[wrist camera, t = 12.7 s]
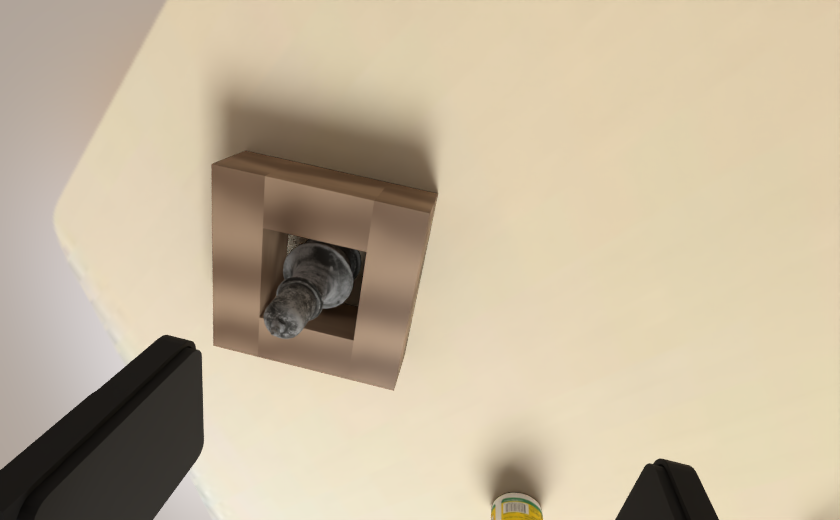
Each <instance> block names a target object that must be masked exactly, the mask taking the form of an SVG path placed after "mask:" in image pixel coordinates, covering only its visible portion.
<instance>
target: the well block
mask: <svg viewBox="0 0 840 520" xmlns="http://www.w3.org/2000/svg"><path fill="white" fill-rule="evenodd" d="M437 197H438V194H437V193H433V192H428V191H424V190H419V189H415V188H410V187H406V186H401V185H397V184H392V183H388V182H383V181H379V180H375V179H370V178H366V177H361V176H357V175H352V174H348V173H343V172H339V171H334V170H330V169H325V168H321V167H316V166H312V165H307V164H303V163H298V162H294V161H289V160H285V159H280V158H276V157H271V156H267V155H262V154H258V153H253V152H249V151H244V152H241V153H239V154H236V155H234V156H231V157H228V158H226V159H223V160H221V161H218V162H216V163H213V164H212V254H213V345H214V346H217V347H221V348H225V349H229V350H233V351H237V352H241V353H245V354H249V355H253V356H257V357H261V358H265V359H269V360H273V361H277V362H281V363H285V364H289V365H293V366H297V367H301V368H305V369H309V370H313V371H317V372H321V373H325V374H329V375H333V376H337V377H341V378H345V379H349V380H353V381H357V382H361V383H365V384H369V385H373V386H377V387H381V388H385V389H389V390H393V391H394V388H395V385H396V382H397V379H398V375H399V372H400V369H401V365H402V362H403V359H404V355H405V351H406V346H407V341H408V336H409V331H410V326H411V322H412V317H413V312H414V307H415V302H416V298H417V293H418V288H419V283H420V278H421V274H422V269H423V264H424V259H425V254H426V250H427V245H428V240H429V235H430V230H431V225H432V221H433V216H434V211H435V206H436V201H437ZM288 234H291V235H296V236H300V237H304V238H308V239H313V240H317V241H321V242H326V243H330V244H334V245H339V246H343V247H347V248H351V249H356V250H360V251H364V252H367V253H366V260H365V267H364V273H363V280H362V287H361V294H360V301H359V307H356V306H351V305H347V304H343V303H342V304H340V305H338V306H336V307H332V308H328V309H322V311H321V313H320V314H319V315H318V317H317V318H315V319H313V320H310V321H308V323H307V324H306V326H305V327H304V328H303V330H302V331H301V332H300V333H299V334H298V335H297V336H295V337H293V338H290V339H282V338H278V337H276V336H274V335H271V333H270V332H269V331H268V329H267V328H266V326H265V323H264V319H263V317H264V312H265V310H266V307H267V306H268V305H269V304H270V303H271V302H272V301H273V299H274V298H275V297H276V293H277V289H278V286H279V285H280V284H281V283H282V281H284V276H283V264H284V261H285V259H286V257H287V244H288Z"/></svg>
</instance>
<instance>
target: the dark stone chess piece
mask: <svg viewBox="0 0 840 520" xmlns="http://www.w3.org/2000/svg"><path fill="white" fill-rule="evenodd" d="M360 268H361V256H360V253H359V251H358V250H356V249H351V248H347V247H343V246H339V245H334V244H330V243H326V242H321V241H317V240H313V239H308V240H307V241H306V243H305V244H301V245H299V246H297V247H296V248H294V249H292V250H291V252H290V253H289V254H288V255H287V257H286V259H285V261H284V264H283V276H284V281H282V283H281V284H280V285H279V286H278V289H277V293H276V297H275V298H274V299H273V301H272V302H271V303H270V304H269V305H268V306H267V307H266V310H265V312H264V317H263V319H264V323H265V326H266V328H267V329H268V331H269V332H270V333H271V335H274V336H276V337H278V338H282V339H290V338H293V337H295V336H297V335H298V334H299V333H300V332H301V331H302V330H303V328H304V327H305V326H306V324H307V323H308V321H310V320H313V319H315V318H317V317H318V315H319V314H320V313H321V311H322V309H328V308H332V307H336V306H338V305H340V304H342V303H343V302H344V301H345V300H346V299H347V298H348V297H349V295H350V293H351V291H352V289H353V282H354V279H355V278H356V277H357V275H358V273H359V271H360Z"/></svg>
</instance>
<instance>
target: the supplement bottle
mask: <svg viewBox="0 0 840 520" xmlns="http://www.w3.org/2000/svg"><path fill="white" fill-rule="evenodd" d="M491 520H543V516H542V509H541V507H540V505H539V504H538V503H537V501H535V500H534V499H533V498H531V497H530V496H528V495H525V494H522V493H507V494H504V495H501V496H500V497H498V498H497V499H496V500H495V501H494V502H493V505H492V509H491Z"/></svg>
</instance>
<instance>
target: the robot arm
mask: <svg viewBox="0 0 840 520" xmlns="http://www.w3.org/2000/svg"><path fill="white" fill-rule="evenodd" d="M203 444H204V429H203V388H202V355H201V352H200V351H199V350H196V347H195V344H194V342H192V341H189V340H185V339H181V338H177V337H173V336H169V335H164V336H162V337H160V338H159V339H157V340H156V341H155V342H154V343H153V344H151V345H150V346H149V347H148V348H147V349H146V350H144V351H143V352H142V353H141V354H140V355H138V356H137V357H136V358H135V359H134V360H133V361H131V362H130V363H129V364H128V365H127V366H125V367H124V368H123V369H122V370H121V371H120V372H118V373H117V374H116V375H115V376H114V377H112V378H111V379H110V380H109V381H108V382H107V383H105V384H104V385H103V386H102V387H101V388H100V389H98V390H97V391H95V392H94V393H92V394H91V395H89V396H88V397H87V398H86V399H85V400H83V401H82V402H81V403H80V404H79V405H78V406H76V407H75V408H74V409H73V410H72V411H70V412H69V413H68V414H67V415H65V416H64V417H63V418H62V419H61V420H60V421H58V422H57V423H56V424H55V425H54V426H52V427H51V428H50V429H49V430H48V431H46V432H45V433H44V434H43V435H42V436H41V437H39V438H38V439H37V440H36V441H35V442H33V443H32V444H31V445H30V446H29V447H27V448H26V449H25V450H24V451H23V452H21V453H20V454H19V455H18V456H17V457H16V458H14V459H13V460H12V461H11V462H10V463H8V464H7V465H6V466H5V467H4V468H3V469H1V470H0V520H153V519H154V517H155V516H156V515H157V513H158V512H159V511H160V509H161V508H162V507H163V505H164V503H165V502H166V501H167V500H168V498H169V497H170V496H171V494H172V493H173V492H174V490H175V489H176V488H177V486H178V485H179V483H180V482H181V481H182V479H183V478H184V477H185V475H186V474H187V473H188V471H189V470H190V468H191V467H192V466H193V464H194V463H195V462H196V460H197V459H198V457H199V455H200V453H201V451H202V448H203ZM615 520H719V519H718V517H717V515H716V513H715V510H714V508H713V506H712V504H711V502H710V500H709V498H708V496H707V494H706V492H705V490H704V487H703V485H702V483H701V481H700V479H699V477H698V475H697V473H696V471H695V470H694V468H692V467H691V466H689V465H685V464H681V463H677V462H673V461H669V460H665V459H658V460H656V461H655V462H654V464H647V465H646V466H645V467H644V469H643V471H642V472H641V474H640V476H639V478H638V480H637V481H636V483H635V485H634V487H633V489H632V490H631V492H630V494H629V496H628V498H627V499H626V501H625V503H624V505H623V507H622V508H621V510H620V512H619V514H618V516H617V517H616V519H615Z"/></svg>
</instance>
